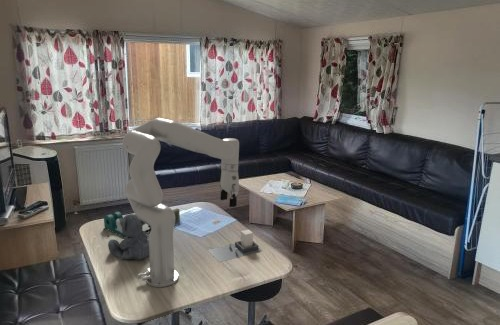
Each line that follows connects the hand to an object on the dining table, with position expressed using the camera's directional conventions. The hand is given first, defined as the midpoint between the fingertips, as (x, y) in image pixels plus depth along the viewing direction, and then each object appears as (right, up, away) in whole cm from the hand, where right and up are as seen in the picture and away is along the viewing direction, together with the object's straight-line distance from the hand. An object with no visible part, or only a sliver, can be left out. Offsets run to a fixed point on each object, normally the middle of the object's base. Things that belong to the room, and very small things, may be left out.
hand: (228, 203), depth 176 cm
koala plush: (-43, -23, 0) cm, 48 cm away
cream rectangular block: (+8, -21, +5) cm, 24 cm away
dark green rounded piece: (-56, -17, +21) cm, 62 cm away
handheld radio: (-37, -16, +27) cm, 48 cm away
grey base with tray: (+3, -23, +3) cm, 23 cm away
